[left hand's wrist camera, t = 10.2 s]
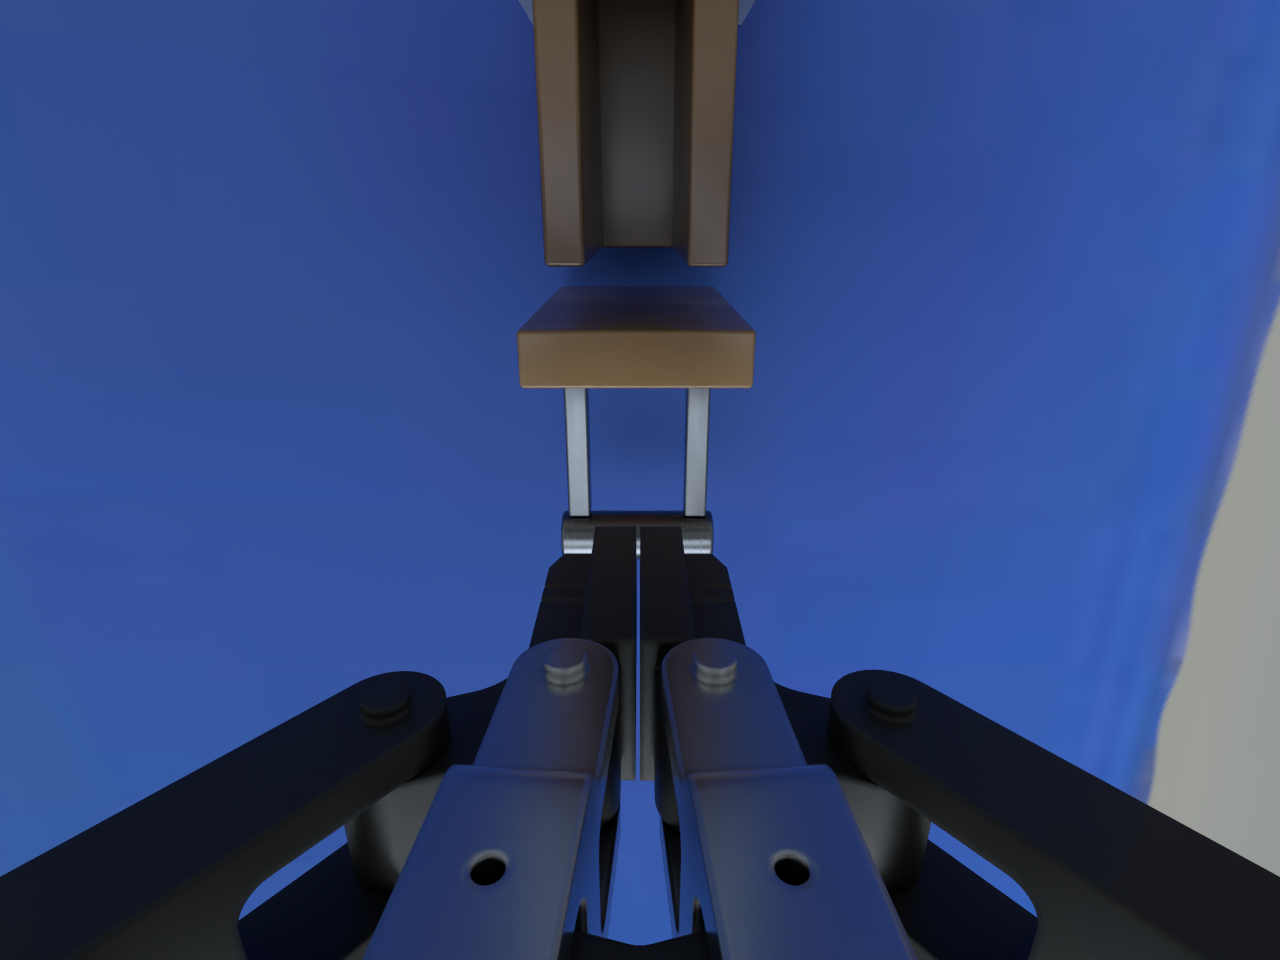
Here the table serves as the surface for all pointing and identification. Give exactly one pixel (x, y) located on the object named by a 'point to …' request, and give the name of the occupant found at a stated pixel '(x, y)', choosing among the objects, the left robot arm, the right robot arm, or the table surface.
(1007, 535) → the table surface
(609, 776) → the left robot arm
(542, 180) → the drawer
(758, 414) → the table surface
